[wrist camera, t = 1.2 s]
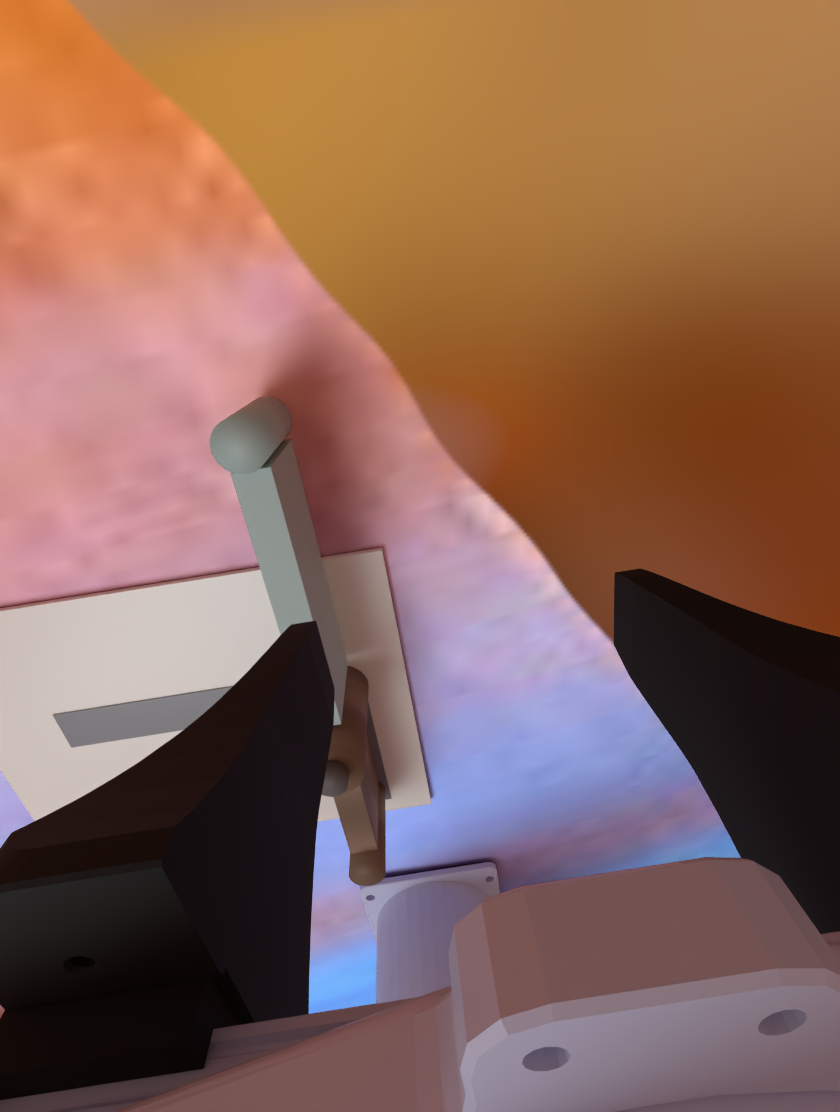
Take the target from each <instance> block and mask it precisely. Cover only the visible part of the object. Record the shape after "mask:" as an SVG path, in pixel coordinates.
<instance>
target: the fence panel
mask: <svg viewBox="0 0 840 1112" xmlns="http://www.w3.org/2000/svg"><path fill="white" fill-rule="evenodd" d="M291 427H292V416H291V413H290V411H289V409H288V408H287V406H286V405H285V404H284V403H283V402H281V401H280V400H278V399H276V398H273V397H260V398H258V399H256V400H254V401H253V402H251V403H249V404H248V405H246V406H245V407H243V408H242V409H240V410H239V411H237V412H235V413H234V414H232V415H231V416H229V417H228V418H226V419H225V420H223V421H221V422H220V423H219V424H217V426H216V427H215V428H214V429H213V431H212V434H211V437H210V448H211V452H212V454H213V456H214V458H215V460H216V461H217V462H218V463H219V464H220V465H221V466H222V467H223V468H224V469H226V470H228V471H230V472H232V473H231V477H232V480H233V483H234V486H235V489H236V493H237V496H238V499H239V502H240V506H241V509H242V512H243V515H244V518H245V522H246V525H247V528H248V531H249V535H250V538H251V541H252V544H253V547H254V551H255V554H256V557H257V560H258V564H259V567H260V570H261V573H262V577H263V580H264V583H265V586H266V589H267V593H268V596H269V599H270V602H271V606H272V609H273V612H274V615H275V618H276V622H277V625H278V628H279V631H280V635H281V634H282V633H283V632H284V631H285V630H286V629H287V628H288V627H289V626H290V625H291V624H298V623H304V622H310V621H316V622H317V626H318V629H319V633H320V637H321V640H322V644H323V648H324V651H325V655H326V659H327V662H328V666H329V670H330V673H331V677H332V681H333V684H334V688H335V696H334V724H333V725H340V724H341V722H342V713H343V704H344V694H345V685H346V675H347V666H348V662H347V658H346V654H345V650H344V646H343V642H342V638H341V634H340V630H339V626H338V622H337V618H336V614H335V610H334V606H333V602H332V598H331V594H330V590H329V586H328V583H327V579H326V575H325V571H324V567H323V563H322V559H321V555H320V551H319V547H318V543H317V539H316V535H315V531H314V527H313V523H312V519H311V515H310V511H309V507H308V503H307V499H306V495H305V491H304V487H303V483H302V479H301V475H300V471H299V467H298V463H297V459H296V455H295V451H294V447H293V443H292V440H285V441H283V440H284V439H285V438H286V436H287V435H288V434H289V432H290V430H291Z"/></svg>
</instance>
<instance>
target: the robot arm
mask: <svg viewBox="0 0 840 1112" xmlns="http://www.w3.org/2000/svg"><path fill="white" fill-rule="evenodd" d="M614 592H615V593H614V645H615V648H616V650H617V652H618V654H619V656H620V658H621V660H622V662H623V664H624V666H625V668H626V670H627V672H628V674H629V676H630V677H631V679H632V681H633V682H634V684H635V685H636V687H637V688H638V689H639V691H640V692H641V694H642V695H643V697H644V698H645V700H646V701H647V703H648V704H649V705H650V707H651V708H652V710H653V711H654V713H655V714H656V715H657V717H658V718H659V720H660V721H661V722H662V724H663V725H664V727H665V728H666V730H667V731H668V732H669V734H670V735H671V737H672V738H673V740H674V741H675V742H676V744H677V745H678V747H679V748H680V749H681V751H682V752H683V754H684V755H685V757H686V758H687V760H688V762H689V763H690V765H691V766H692V768H693V769H694V771H695V773H696V775H697V776H698V778H699V780H700V782H701V784H702V785H703V787H704V789H705V791H706V793H707V794H708V796H709V798H710V800H711V802H712V803H713V805H714V807H715V809H716V811H717V812H718V814H719V816H720V818H721V820H722V822H723V824H724V826H725V828H726V830H727V831H728V833H729V835H730V837H731V839H732V841H733V843H734V845H735V847H736V849H737V851H738V853H739V854H740V856H741V858H714V857H704V858H698V859H692V860H685V861H679V862H672V863H666V864H660V865H653V866H647V867H641V868H634V869H628V870H621V871H615V872H609V873H602V874H596V875H590V876H583V877H577V878H570V879H564V880H558V881H551V882H545V883H539V884H532V885H526V886H521V887H518V888H515V889H512V890H509V891H506V892H502V893H500V890H499V882H498V874H497V868H496V865H495V864H494V863H491V862H485V863H478V864H472V865H465V866H459V867H452V868H446V869H440V870H433V871H427V872H420V873H414V874H408V875H401V876H395V877H388V878H384V879H383V880H382V881H381V882H379V883H377V884H375V885H371V886H362V885H361V886H360V894H361V897H362V900H363V903H364V907H365V910H366V913H367V916H368V919H369V923H370V926H371V929H372V932H373V936H374V939H375V942H376V945H377V963H376V1004H370V1005H364V1006H358V1007H351V1008H345V1009H338V1010H332V1011H325V1012H319V1013H313V1014H308V1004H309V963H310V932H311V910H312V890H313V872H314V857H315V842H316V829H317V821H318V814H319V807H320V802H321V796H322V790H323V784H324V779H325V773H326V767H327V761H328V756H329V750H330V744H331V738H332V731H333V724H334V696H335V688H334V684H333V681H332V677H331V673H330V670H329V666H328V662H327V659H326V655H325V651H324V648H323V644H322V640H321V637H320V633H319V629H318V626H317V622H316V621H310V622H304V623H298V624H291V625H290V626H289V627H288V628H287V629H286V630H285V631H284V632H283V633H282V634H281V635H280V637H279V638H278V639H277V640H276V641H275V642H274V643H273V644H272V645H271V647H270V648H269V649H268V650H267V651H266V652H265V653H264V654H263V655H262V657H261V658H260V659H259V660H258V661H257V662H256V663H255V664H254V665H253V666H252V667H251V668H250V670H249V671H248V672H247V673H246V674H245V675H244V676H243V677H242V678H241V679H240V680H239V681H238V682H237V683H236V684H235V685H234V686H233V687H232V688H231V689H230V690H228V691H227V692H226V693H225V694H224V695H223V696H222V697H221V698H220V699H219V700H218V701H217V702H216V703H215V704H214V705H213V706H212V707H211V708H209V709H208V710H207V711H206V712H205V713H204V714H202V715H201V716H200V717H199V718H198V719H196V720H195V721H194V722H193V723H191V724H190V725H189V726H188V727H187V728H185V729H184V730H183V731H182V732H180V733H179V734H178V735H176V736H175V737H174V738H172V739H171V740H169V741H168V742H167V743H165V744H164V745H162V746H161V747H159V748H158V749H157V750H155V751H154V752H152V753H151V754H150V755H148V756H147V757H145V758H144V759H142V760H141V761H140V762H138V763H137V764H135V765H134V766H132V767H130V768H129V769H127V770H126V771H124V772H123V773H121V774H119V775H118V776H116V777H115V778H113V779H111V780H110V781H108V782H106V783H104V784H103V785H101V786H99V787H98V788H96V789H94V790H93V791H91V792H89V793H87V794H86V795H84V796H82V797H80V798H78V799H77V800H75V801H73V802H71V803H69V804H67V805H65V806H63V807H61V808H60V809H58V810H56V811H54V812H52V813H50V814H48V815H46V816H44V817H42V818H40V819H38V820H36V821H34V822H32V823H30V824H29V825H27V826H25V827H23V828H20V829H18V830H16V831H14V832H12V833H11V834H10V836H9V837H8V838H7V840H6V841H5V843H4V844H3V845H2V847H1V848H0V1005H1V1006H2V1007H3V1008H4V1009H5V1011H4V1013H3V1015H2V1017H1V1019H0V1112H840V637H837V636H833V635H829V634H825V633H821V632H817V631H813V630H810V629H806V628H803V627H799V626H795V625H792V624H788V623H785V622H781V621H778V620H775V619H772V618H769V617H766V616H763V615H760V614H757V613H754V612H751V611H748V610H746V609H743V608H740V607H737V606H735V605H732V604H729V603H727V602H724V601H721V600H719V599H716V598H714V597H711V596H709V595H706V594H704V593H701V592H699V591H697V590H694V589H692V588H689V587H687V586H685V585H682V584H680V583H677V582H675V581H672V580H670V579H668V578H665V577H663V576H660V575H658V574H655V573H652V572H650V571H647V570H643V569H634V570H629V571H622V572H616V573H615V588H614Z"/></svg>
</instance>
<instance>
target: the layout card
mask: <svg viewBox="0 0 840 1112" xmlns="http://www.w3.org/2000/svg"><path fill="white" fill-rule="evenodd" d="M321 559H322V563H323V567H324V571H325V575H326V579H327V583H328V586H329V590H330V594H331V598H332V602H333V606H334V610H335V614H336V618H337V622H338V626H339V630H340V634H341V638H342V642H343V646H344V650H345V654H346V658H347V662H348V666H351V667H354V668H356V669H358V670H359V671H361V672H362V673H363V674H364V675H365V676H366V678H367V680H368V684H369V691H368V714H367V734H368V738H369V742H370V746H371V750H372V754H373V758H374V762H375V766H376V770H377V774H378V778H379V780H378V781H379V782H381V783H382V784H383V785H384V787H385V811H388V810H395V809H401V808H407V807H414V806H420V805H427V804H431V797H430V792H429V787H428V781H427V776H426V771H425V766H424V761H423V756H422V751H421V745H420V740H419V735H418V730H417V725H416V720H415V715H414V709H413V704H412V699H411V694H410V689H409V684H408V679H407V673H406V668H405V663H404V658H403V653H402V648H401V643H400V638H399V632H398V627H397V622H396V617H395V612H394V607H393V602H392V596H391V591H390V586H389V581H388V576H387V571H386V566H385V560H384V555H383V550H382V548H376V549H369V550H363V551H357V552H351V553H344V554H338V555H332V556H326V557H321ZM279 637H280V631H279V628H278V625H277V622H276V618H275V615H274V612H273V609H272V606H271V602H270V599H269V596H268V593H267V589H266V586H265V583H264V580H263V577H262V573H261V570H260V567H256V568H250V569H244V570H238V571H231V572H225V573H219V574H213V575H206V576H200V577H194V578H187V579H181V580H175V581H169V582H162V583H156V584H150V585H144V586H137V587H131V588H125V589H118V590H112V591H106V592H100V593H93V594H87V595H81V596H74V597H68V598H62V599H56V600H49V601H43V602H37V603H31V604H24V605H18V606H12V607H5V608H0V770H1V772H2V773H3V775H4V776H5V778H6V779H7V781H8V782H9V784H10V785H11V787H12V788H13V790H14V791H15V793H16V794H17V795H18V797H19V798H20V800H21V801H22V803H23V804H24V806H25V807H26V809H27V810H28V812H29V813H30V815H31V816H32V818H33V819H34V821H36V820H38V819H40V818H42V817H44V816H46V815H48V814H50V813H52V812H54V811H56V810H58V809H60V808H61V807H63V806H65V805H67V804H69V803H71V802H73V801H75V800H77V799H78V798H80V797H82V796H84V795H86V794H87V793H89V792H91V791H93V790H94V789H96V788H98V787H99V786H101V785H103V784H104V783H106V782H108V781H110V780H111V779H113V778H115V777H116V776H118V775H119V774H121V773H123V772H124V771H126V770H127V769H129V768H130V767H132V766H134V765H135V764H137V763H138V762H140V761H141V760H142V759H144V758H145V757H147V756H148V755H150V754H151V753H152V752H154V751H155V750H157V749H158V748H159V747H161V746H162V745H164V744H165V743H167V742H168V741H169V740H171V739H172V738H174V737H175V736H176V735H178V734H179V733H180V732H182V731H183V730H184V729H185V728H187V727H188V726H189V725H190V724H191V723H193V722H194V721H195V720H196V719H198V718H199V717H200V716H201V715H202V714H204V713H205V712H206V711H207V710H208V709H209V708H211V707H212V706H213V705H214V704H215V703H216V702H217V701H218V700H219V699H220V698H221V697H222V696H223V695H224V694H225V693H226V692H227V691H228V690H230V689H231V688H232V687H233V686H234V685H235V684H236V683H237V682H238V681H239V680H240V679H241V678H242V677H243V676H244V675H245V674H246V673H247V672H248V671H249V670H250V668H251V667H252V666H253V665H254V664H255V663H256V662H257V661H258V660H259V659H260V658H261V657H262V655H263V654H264V653H265V652H266V651H267V650H268V649H269V648H270V647H271V645H272V644H273V643H274V642H275V641H276V640H277V639H278V638H279ZM337 818H340V817H339V814H338V810H337V807H336V804H335V801H334V797H328V796H324V795H322V796H321V802H320V807H319V814H318V821H325V820H331V819H337ZM318 821H317V822H318Z"/></svg>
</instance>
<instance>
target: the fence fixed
mask: <svg viewBox="0 0 840 1112" xmlns="http://www.w3.org/2000/svg"><path fill="white" fill-rule="evenodd" d="M368 691H369V684H368V680H367V678H366V676H365V675H364V674H363V673H362V672H361V671H359V670H358V669H356V668H354V667H351V666H347V675H346V685H345V694H344V704H343V713H342V722H341V724H340V725H333V731H332V738H331V744H330V750H329V756H328V761H327V767H326V773H325V779H324V784H323V790H322V795H324V796H328V797H334V801H335V804H336V807H337V810H338V814H339V817H340V820H341V823H342V827H343V830H344V833H345V836H346V840H347V843H348V846H349V849H350V866H349V877H350V879H351V881H353V882H354V883H356V884H358V885H362V886H371V885H375V884H377V883H379V882H381V881H382V880H383V879H384V877H385V787H384V785H383V784H382V783H381V782H379V781H378V780H379V778H378V774H377V770H376V766H375V762H374V758H373V754H372V750H371V746H370V742H369V738H368V734H367V714H368Z"/></svg>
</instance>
